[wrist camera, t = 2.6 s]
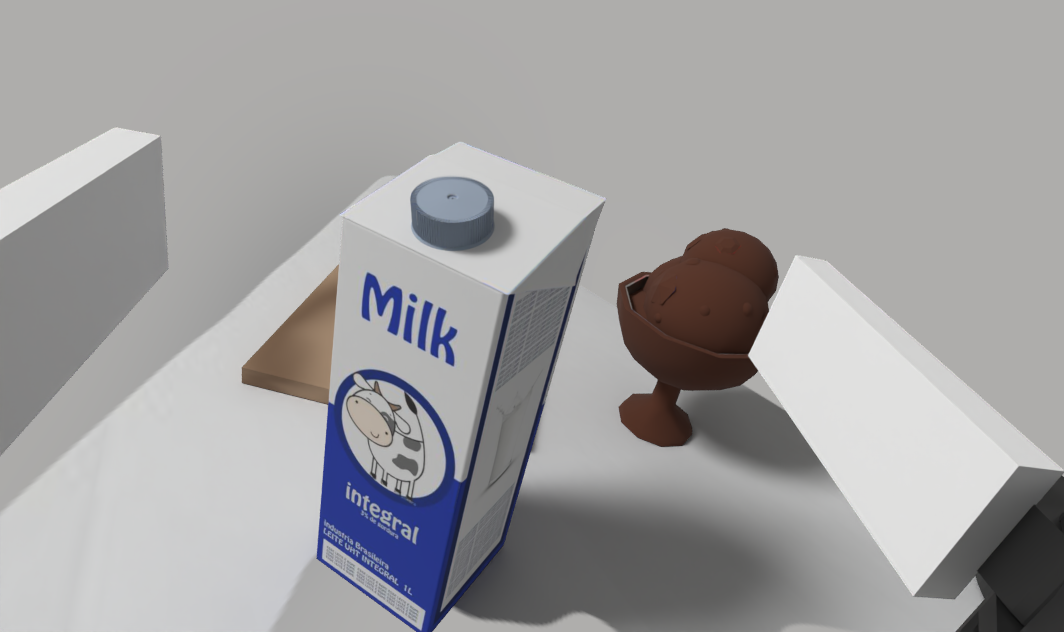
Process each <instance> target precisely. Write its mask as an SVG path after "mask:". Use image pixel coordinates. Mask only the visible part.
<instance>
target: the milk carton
mask: <svg viewBox="0 0 1064 632" xmlns="http://www.w3.org/2000/svg"><path fill="white" fill-rule="evenodd" d="M605 200H606V198H604V197H601V196H599V195H596V194H593V193H591V192H588V191H586V190H583V189H581V188H578V187H576V186H573V185H570V184H568V183H565V182H563V181H560V180H558V179H555V178H552V177H550V176H547V175H545V174H542V173H540V172H537V171H534V170H532V169H530V168H527V167H524V166H522V165H519V164H517V163H514V162H512V161H509V160H506V159H504V158H501V157H499V156H496V155H494V154H491V153H489V152H486V151H483V150H481V149H478V148H476V147H473V146H471V145H468V144H465V143H463V142H458V143H456V144H454V145H452V146H450V147H448V148H447V149H445V150H443V151H441V152H439V153H437V154H436V155H432V154H431V155H429V156H428V157H426V158H425V159H423V160H422V161H420V162H419V163H417V164H416V165H414V166H413V167H411V168H409V169H408V170H407V171H405V172H403V173H402V174H400V175H399V176H397V177H396V178H394V179H393V180H391V181H390V182H388V183H387V184H385V185H384V186H382V187H380V188H379V189H377V190H376V191H374V192H373V193H371V194H370V195H368V196H367V197H365V198H364V199H362V200H361V201H359V202H358V203H356V204H355V205H353V206H352V207H350V208H348V209H347V210H345V211H344V212H342V213H341V214H340V215H341V216H343V219H342V233H341V246H340V259H339V272H338V285H337V298H336V311H335V325H334V338H333V351H332V364H331V377H330V390H329V403H328V416H327V430H326V443H325V456H324V469H323V482H322V495H321V508H320V522H319V535H318V548H317V559H318V560H319V561H321V562H322V563H323V564H325V565H326V566H327V567H329V568H330V569H331V570H333V571H334V572H336V573H337V574H338V575H340V576H341V577H342V578H344V579H345V580H347V581H348V582H349V583H351V584H352V585H353V586H355V587H356V588H358V589H359V590H360V591H362V592H363V593H365V594H366V595H367V596H369V597H370V598H371V599H373V600H374V601H375V602H377V603H378V604H379V605H381V606H382V607H383V608H385V609H386V610H388V611H389V612H390V613H392V614H393V615H394V616H396V617H397V618H398V619H400V620H401V621H402V622H404V623H405V624H407V625H408V626H409V627H411V628H412V629H414V630H415V631H416V632H432V631H433V630H434V629H435V628H436V626H437V625H438V624H439V623H440V622H441V620H442V619H443V618H444V617H445V616H446V614H447V613H448V612H449V611H450V609H451V608H452V607H453V606H454V605H455V603H456V602H457V601H458V600H459V598H460V597H461V596H462V595H463V594H464V592H465V591H466V590H467V589H468V588H469V586H470V585H471V584H472V583H473V581H474V580H475V579H476V578H477V577H478V575H479V574H480V573H481V572H482V570H483V569H484V568H485V567H486V566H487V564H488V563H489V562H490V561H491V560H492V558H493V557H494V556H495V555H496V553H497V552H498V551H499V550H500V549H501V547H502V546H503V545H504V542H505V538H506V535H507V532H508V528H509V525H510V521H511V518H512V514H513V511H514V507H515V504H516V500H517V497H518V494H519V490H520V487H521V483H522V480H523V476H524V473H525V469H526V466H527V462H528V459H529V455H530V452H531V449H532V445H533V442H534V438H535V435H536V431H537V428H538V424H539V421H540V417H541V414H542V411H543V407H544V404H545V400H546V397H547V393H548V390H549V386H550V383H551V379H552V376H553V373H554V369H555V366H556V362H557V359H558V355H559V352H560V348H561V345H562V341H563V338H564V334H565V331H566V328H567V324H568V321H569V317H570V314H571V310H572V307H573V303H574V300H575V296H576V293H577V290H578V286H579V282H580V279H581V276H582V272H583V269H584V265H585V262H586V258H587V255H588V251H589V248H590V245H591V241H592V238H593V234H594V231H595V227H596V224H597V221H598V219H599V216H600V213H601V211H602V208H603V206H604V203H605Z"/></svg>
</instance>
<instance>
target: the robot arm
mask: <svg viewBox="0 0 1064 632" xmlns="http://www.w3.org/2000/svg"><path fill="white" fill-rule="evenodd" d="M165 219H166V217H165V202H164V183H163V165H162V148H161V136H159V135H154V134H148V133H143V132H138V131H133V130H127V129H122V128H117V127H115V128H113V129H111V130H109V131H107V132H105V133H104V134H102V135H100V136H98V137H96V138H94V139H92V140H90V141H89V142H87V143H85V144H83V145H81V146H79V147H77V148H76V149H74V150H72V151H70V152H68V153H66V154H65V155H63V156H61V157H59V158H57V159H55V160H53V161H51V162H50V163H48V164H46V165H44V166H42V167H41V168H38V169H37V170H35V171H33V172H31V173H29V174H27V175H25V176H24V177H22V178H20V179H18V180H17V181H14V182H13V183H10V184H9V185H7V186H5V187H3V188H1V189H0V456H1V455H2V453H3V452H4V451H5V450H6V449H7V448H8V447H9V446H10V445H11V443H12V442H13V441H14V440H15V439H16V438H17V436H19V435H20V433H21V432H22V431H23V430H24V429H25V428H26V427H27V426H28V425H29V423H30V422H31V421H32V420H33V419H34V418H35V417H36V416H37V415H38V413H39V412H40V411H41V410H42V409H43V408H44V407H45V406H46V405H47V403H48V402H49V401H50V400H51V399H52V398H53V397H54V395H55V394H56V393H57V392H58V391H59V390H60V389H61V388H62V386H64V384H65V383H66V382H67V381H68V380H69V379H70V378H71V377H72V376H73V374H74V373H75V372H76V371H77V370H78V369H79V368H80V367H81V365H82V364H83V363H84V362H85V361H86V360H87V359H88V358H89V357H90V355H91V354H92V353H93V352H94V351H95V350H96V349H97V348H98V347H99V345H100V344H101V343H102V342H103V341H104V340H105V339H106V338H107V336H108V335H109V334H110V333H111V332H112V331H113V330H114V329H115V327H116V326H117V325H118V324H119V323H120V322H121V321H122V320H123V319H124V317H125V316H126V315H127V314H128V313H129V312H130V311H131V309H133V307H134V306H135V305H136V304H137V303H138V302H139V301H140V300H141V298H142V297H143V296H144V295H145V294H146V293H147V292H148V291H149V290H150V288H151V287H152V286H153V285H154V284H155V283H156V282H157V281H158V279H159V278H160V277H161V276H162V275H163V274H164V273H165V272H166V271H167V270H168V253H167V235H166V220H165ZM748 356H749V358H750V359H751V361H752V362H753V364H754V365H755V367H756V368H757V369H758V371H759V372H760V374H761V375H762V377H763V378H764V380H765V381H766V382H767V384H768V385H769V387H770V388H771V390H772V391H773V393H774V394H775V395H776V397H777V398H778V400H779V401H780V403H781V404H782V406H783V407H784V409H785V410H786V412H787V413H788V415H789V416H790V418H791V419H792V420H793V422H794V423H795V425H796V426H797V428H798V429H799V431H800V432H801V434H802V435H803V436H804V438H805V439H806V441H807V442H808V444H809V445H810V447H811V448H812V450H813V451H814V452H815V454H816V455H817V457H818V458H819V460H820V461H821V463H822V464H823V466H824V467H825V469H826V470H827V471H828V473H829V474H830V476H831V477H832V479H833V480H834V482H835V483H836V485H837V486H838V487H839V489H840V490H841V492H842V493H843V495H844V496H845V498H846V499H847V501H848V502H849V503H850V505H851V506H852V508H853V509H854V511H855V512H856V514H857V515H858V517H859V518H860V520H861V521H862V522H863V524H864V525H865V527H866V528H867V530H868V531H869V533H870V534H871V536H872V537H873V538H874V540H875V541H876V543H877V544H878V546H879V547H880V549H881V550H882V552H883V553H884V554H885V556H886V557H887V559H888V560H889V562H890V563H891V565H892V566H893V568H894V569H895V571H896V572H897V573H898V575H899V576H900V578H901V579H902V581H903V582H904V584H905V585H906V587H907V588H908V589H909V591H910V592H911V594H912V595H913V596H915V597H929V598H943V599H955V598H956V597H957V596H958V595H959V594H960V593H961V592H962V590H963V589H964V588H965V587H966V586H967V585H968V583H969V582H970V581H971V580H972V579H973V578H974V576H975V575H976V578H977V582H978V585H979V587H980V590H981V592H982V594H983V596H984V598H985V600H984V601H983V602H982V603H981V604H980V605H979V606H978V607H977V609H976V610H975V611H974V612H973V613H972V614H971V615H970V616H969V617H968V619H967V620H966V621H965V622H964V623H963V624H962V625H961V626H960V627H959V629H958V630H957V631H956V632H1064V477H1063V476H1062V474H1063V473H1064V470H1063V469H1062V468H1061V467H1059V466H1058V465H1057V464H1056V463H1055V462H1054V461H1052V460H1051V459H1050V458H1049V457H1048V456H1047V455H1046V454H1045V453H1044V452H1042V451H1041V450H1040V449H1039V448H1038V447H1037V446H1036V445H1034V444H1033V443H1032V442H1031V441H1030V440H1029V439H1028V438H1027V437H1025V436H1024V435H1023V434H1022V433H1021V432H1020V431H1019V430H1017V429H1016V428H1015V427H1014V426H1013V425H1012V424H1011V423H1009V422H1008V421H1007V420H1006V419H1005V418H1004V417H1003V416H1002V415H1000V414H999V413H998V412H997V411H996V410H995V409H994V408H992V407H991V406H990V405H989V404H988V403H987V402H986V401H985V400H983V399H982V398H981V397H980V396H979V395H978V394H977V393H976V392H974V391H973V390H972V389H971V388H970V387H969V386H968V385H966V384H965V383H964V382H963V381H962V380H961V379H959V378H958V377H957V376H956V375H955V374H954V373H953V372H952V371H951V370H949V369H948V368H947V367H946V366H945V365H944V364H943V363H941V362H940V361H939V360H938V359H937V358H936V357H935V356H934V355H932V354H931V353H930V352H929V351H928V350H927V349H926V348H924V347H923V346H922V345H921V344H920V343H919V342H918V341H917V340H915V339H914V338H913V337H912V336H911V335H910V334H909V333H908V332H906V331H905V330H904V329H903V328H902V327H901V326H900V325H898V324H897V323H896V322H895V321H894V320H893V319H892V318H891V317H889V316H888V315H887V314H886V313H885V312H884V311H883V310H881V309H880V308H879V307H878V306H877V305H876V304H875V303H874V302H872V301H871V300H870V299H869V298H868V297H867V296H866V295H864V294H863V293H862V292H861V291H860V290H859V289H857V288H856V287H855V286H854V285H853V284H852V283H851V282H850V281H849V280H847V279H846V278H845V277H844V276H843V275H842V274H841V273H839V272H838V271H837V270H836V269H835V268H834V267H833V266H832V265H830V264H829V263H828V262H827V261H826V260H820V259H814V258H810V257H804V256H799V255H796V256H795V258H794V260H793V262H792V264H791V267H790V269H789V271H788V273H787V275H786V277H785V279H784V281H783V283H782V285H781V287H780V289H779V292H778V294H777V296H776V298H775V300H774V302H773V304H772V306H771V308H770V311H769V312H768V315H767V317H766V319H765V321H764V323H763V325H762V327H761V329H760V331H759V334H758V336H757V338H756V340H755V342H754V344H753V346H752V348H751V350H750V352H749V355H748Z"/></svg>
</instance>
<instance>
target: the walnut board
mask: <svg viewBox="0 0 1064 632" xmlns="http://www.w3.org/2000/svg"><path fill="white" fill-rule="evenodd" d="M338 272H339V265H338V266H337V267H336V268H335V269H334V270H333V271H332V272H331V273H330V274H329V275H328V276H327V278H326V279H325V280H324V281H323V282H322V283H321V284H320V285H319V286H318V287H317V288H316V289H315V290H314V291H313V292H312V293H311V295H310V296H309V297H308V298H307V299H306V300H305V301H304V302H303V303H302V304H301V305H300V306H299V307H298V308H297V309H296V310H295V312H294V313H293V314H292V315H291V316H290V317H289V318H288V319H287V320H286V321H285V322H284V323H283V324H282V325H281V326H280V327H279V329H278V330H277V331H276V332H275V333H274V334H273V335H272V336H271V337H270V338H269V339H268V340H267V341H266V342H265V343H264V344H263V346H262V347H261V348H260V349H259V350H258V351H257V352H256V353H255V354H254V355H253V356H252V357H251V358H250V359H249V360H248V361H247V363H246V364H245V365H244V366H243V367H242V383H245V384H249V385H253V386H257V387H261V388H265V389H269V390H273V391H277V392H281V393H285V394H289V395H293V396H297V397H301V398H305V399H309V400H313V401H317V402H321V403H325V404H328V403H329V390H330V377H331V364H332V351H333V338H334V325H335V311H336V298H337V285H338Z"/></svg>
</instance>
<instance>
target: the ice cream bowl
mask: <svg viewBox="0 0 1064 632" xmlns="http://www.w3.org/2000/svg"><path fill="white" fill-rule="evenodd" d="M778 278H779V276H778V270H777V264H776V261H775V259H774V258H773V255H772V254H771V252H770V250H769V249H768V248H767V247H766V246H765V245H764V244H763V243H762V242H761V241H760V240H759V239H757V238H755V237H753V236H751V235H749V234H747V233H745V232H740V231H734V230H729V229H725V228H724V229H722V230H718V231H712V232H709V233H707V234H702V235H701V236H699V237H698V238H696V239H695V240H694V241H692V242H691V243H690V244H688V245H687V247H686V249H685V252H684V254H683V256H680V257H678V258H675V259H672V260H670V261H668V262H666V263H664V264H662V265H660V266H659V267H658V268H657V269H656V270H654V271H653V272H652V273H650V272H641V273H639V274H637V275H635V276H633V277H631V278H629V279H627V280H625V281H624V282H622V283H620V284H619V288H618V298H617V308H618V315H619V321H620V326H621V331H622V335H623V340H624V344H625V345H626V347H627V349H628V350H629V352H630V353H631V355H632V357H633V358H634V359H635V360H636V361H637V362H638V363H639V364H640V365H641V366H642V367H643V368H645V369H646V370H647V371H648V372H649V373H651V374H652V375H653V376H654V377H655V378H657V379H658V382H657V384H656V387H655V389H654V391H653V393H652V394H632V395H631V396H630V397H629V398H628V399H626V400H625V401H624V402H623V403H622V404H621V405H620V406H619V412H620V417H621V422H622V423H623V424H624V425H625V426H626V427H627V428H628V429H629V430H630V431H631V432H632V433H633V434H634V435H635V436H637V437H638V438H640V439H643V440H645V441H648V442H651V443H653V444H656V445H658V446H661V447H664V446H682V445H683V444H684V443H685V442H686V441H687V440H688V439H689V438H690V436H691V435H692V427H691V423H690V420H689V417H688V414H687V413H685V412H684V411H683V410H682V409H681V408H680V407H678V406H677V405H676V401H677V398H678V396H679V393H680V390H681V389H682V390H690V391H694V390H723V389H727V388H731V387H736V386H740V385H741V384H743V383H744V382H745V381H747V380H748V379H750V378H751V377H752V376H754V375H755V374H756V373H757V371H758V369H757V368H756V367H755V365H754V364H753V362H752V361H751V359H750V358H749V356H748V355H749V352H750V350H751V348H752V346H753V344H754V342H755V340H756V338H757V336H758V334H759V331H760V329H761V327H762V325H763V323H764V321H765V319H766V317H767V315H768V312H769V308H768V301H769V299H770V298H771V297H772V295H773V294H774V293H775V291H776V288H777V283H778Z"/></svg>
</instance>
